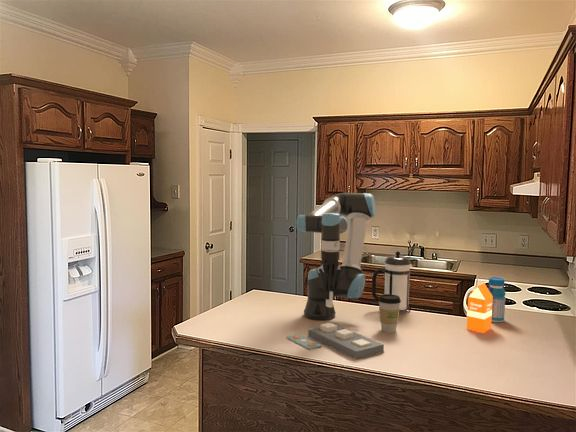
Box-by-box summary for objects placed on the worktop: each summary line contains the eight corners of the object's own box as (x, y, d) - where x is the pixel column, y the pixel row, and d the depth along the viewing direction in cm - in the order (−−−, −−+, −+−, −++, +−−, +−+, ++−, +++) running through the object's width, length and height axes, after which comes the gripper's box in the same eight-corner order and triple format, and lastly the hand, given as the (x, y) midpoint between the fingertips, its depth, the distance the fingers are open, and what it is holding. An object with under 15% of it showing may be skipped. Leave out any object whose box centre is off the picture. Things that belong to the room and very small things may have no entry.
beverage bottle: (499, 323, 222) (501, 281, 220) (481, 319, 228) (483, 278, 226) (507, 320, 227) (509, 278, 225) (490, 316, 233) (492, 275, 232)
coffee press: (390, 304, 254) (391, 247, 251) (416, 310, 243) (418, 251, 240) (370, 310, 242) (372, 251, 239) (398, 317, 230) (399, 255, 228)
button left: (320, 332, 202) (320, 324, 202) (329, 330, 205) (329, 322, 204) (327, 336, 198) (327, 327, 197) (337, 333, 200) (337, 325, 200)
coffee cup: (400, 334, 205) (401, 300, 204) (377, 332, 207) (377, 298, 206) (399, 327, 215) (400, 294, 213) (377, 325, 217) (378, 293, 215)
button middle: (335, 339, 194) (335, 331, 193) (345, 337, 196) (345, 328, 196) (343, 343, 189) (343, 334, 189) (353, 340, 192) (353, 332, 192)
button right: (351, 350, 185) (352, 341, 185) (361, 347, 188) (361, 338, 188) (360, 354, 181) (360, 345, 181) (370, 351, 184) (370, 342, 184)
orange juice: (466, 328, 214) (468, 284, 212) (474, 324, 220) (476, 281, 218) (484, 333, 208) (486, 287, 207) (491, 328, 215) (493, 284, 213)
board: (308, 336, 202) (308, 329, 201) (334, 330, 209) (334, 323, 209) (356, 359, 177) (356, 351, 176) (383, 352, 184) (383, 344, 184)
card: (286, 338, 199) (286, 336, 199) (298, 335, 202) (298, 333, 202) (309, 349, 186) (309, 347, 186) (321, 347, 189) (321, 345, 189)
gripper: (323, 252, 191) (322, 310, 193) (348, 250, 199) (347, 306, 200) (312, 250, 198) (311, 306, 199) (336, 248, 205) (335, 302, 207)
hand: (329, 306), depth 200 cm, fingers closed
